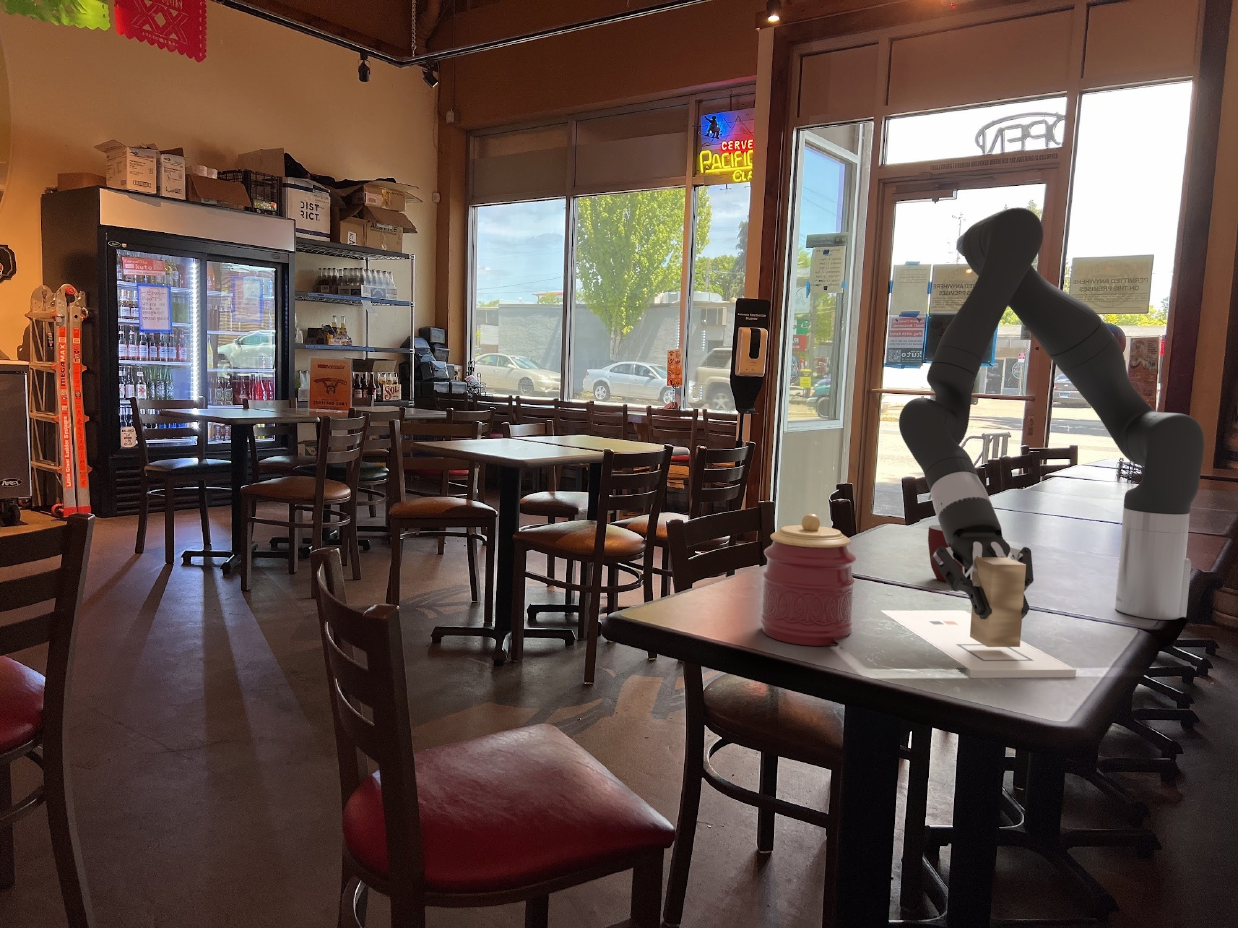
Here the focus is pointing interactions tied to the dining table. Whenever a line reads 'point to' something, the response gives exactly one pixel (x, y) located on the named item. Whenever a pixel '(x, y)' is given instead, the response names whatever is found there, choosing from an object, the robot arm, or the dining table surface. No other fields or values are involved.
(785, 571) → the canister
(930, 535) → the mug
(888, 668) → the dining table surface
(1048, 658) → the board
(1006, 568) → the oak block
